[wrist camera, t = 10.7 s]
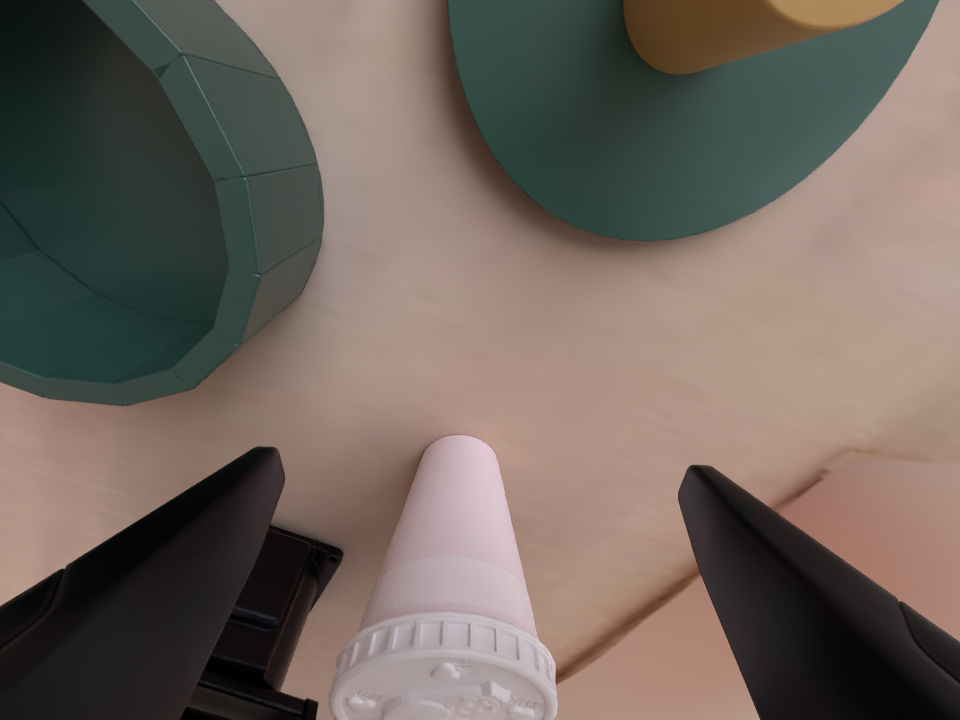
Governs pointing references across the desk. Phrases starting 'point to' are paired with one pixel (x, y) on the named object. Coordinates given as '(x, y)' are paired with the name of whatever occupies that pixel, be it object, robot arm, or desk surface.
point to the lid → (673, 99)
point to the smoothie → (449, 607)
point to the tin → (143, 196)
